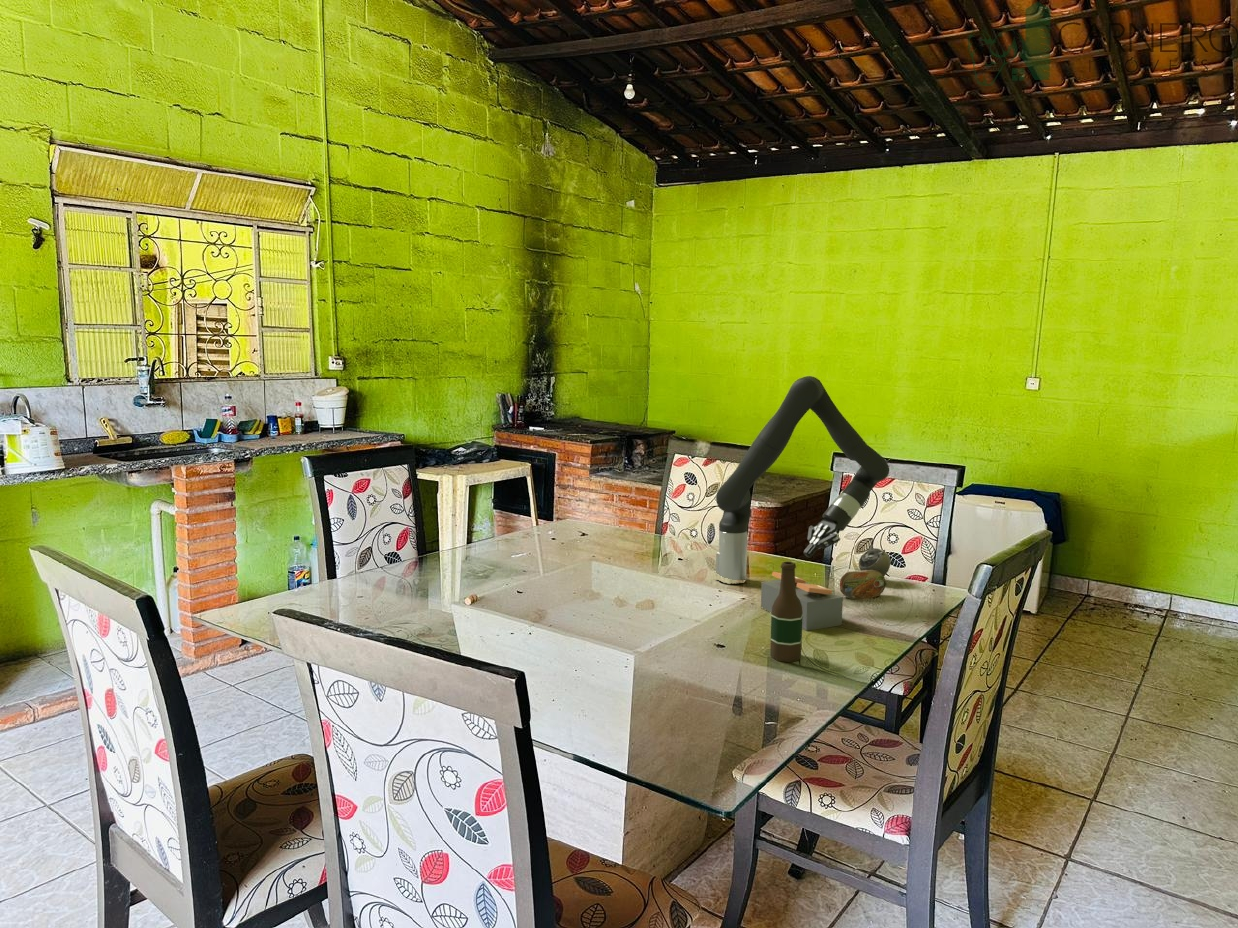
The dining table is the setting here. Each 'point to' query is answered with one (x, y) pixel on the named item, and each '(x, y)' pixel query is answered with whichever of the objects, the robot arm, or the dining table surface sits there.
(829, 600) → the switch box
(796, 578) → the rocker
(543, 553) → the dining table surface
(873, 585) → the tin
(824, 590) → the orange flat board
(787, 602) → the beer bottle
